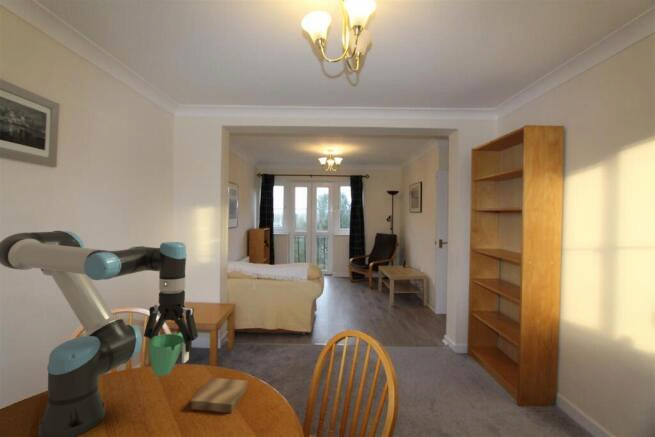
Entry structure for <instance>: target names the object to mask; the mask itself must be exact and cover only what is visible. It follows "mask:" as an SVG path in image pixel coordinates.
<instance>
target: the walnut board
mask: <svg viewBox="0 0 655 437" xmlns="http://www.w3.org/2000/svg"><path fill="white" fill-rule="evenodd" d="M248 383H249V381H248V380H241V379H232V378H220V377H210V378H209V379H208V380H207V381H206V382H205V383H204V385H203V386H202V387H201V388H200V389H199V390H198V391H197V392H196V393H195V394H194V395H193V397H192V398H191V399H189V400H190V401H189V402H190V405H191V410H199V411H207V412H217V413H218V412H219V413H227V414H232V413H233V411H234V410H235V408H236V407H237V405H238V404H239V402H240V401H241V399H242V398H243V396H244V394H245V393H246V392H247V389H248Z"/></svg>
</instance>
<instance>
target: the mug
mask: <svg viewBox="0 0 655 437" xmlns="http://www.w3.org/2000/svg"><path fill="white" fill-rule="evenodd" d="M184 341H185V340H184V338H183V336H182V334H181V332H180V331H179V332H178V333H176V334H174V333H166V334H165V333H163V334H158V336H155V337H153V338H151V339H149V340H148V345H147V346H148V354H149V355H148V356H149V360H150V364H151V367H152V368H151V369H152V371H153V374H154V375H155V376H167V375H169V374H171V372H172V371H173V368H174V367H175V365H176V363H177V360H178V358H179V357H180V355H181V354H182V343H183V342H184Z"/></svg>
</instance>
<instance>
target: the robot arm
mask: <svg viewBox="0 0 655 437" xmlns="http://www.w3.org/2000/svg"><path fill="white" fill-rule="evenodd" d="M81 238H82V237H80V236H79V235H78V234H76V233H75V232H72V231H68V230H63V231H62V230H54V231H39V232H37V231H36V232H33V231H32V232H19V233H14V234H11V235H8V236H6V237H5V238H4V239H2V240H1V241H0V265H1V266H3V267H6V268H8V269H14V270H21V271H26V270H28V271H29V270H32V269H40V271H41V272H42V273H43V275H45V276H48V277H49V276H50V277H52V278H53V281H54V282H55V283H56V285H57V287H58V288H59V290H60V291H61V294H62V295H63V296H64V298H65V300H66V301H67V303H68V305H69V307H70V308H71V309H72V311H73V313H74V315H75V316H76V318H77V319H78V321H79V324H81V326H82V327H83V329H84V331H85V333H86V335H85V336H80V337H78V338H72V339H70V340H66V341H65V342H63V343H60V344H59V345H58V346H56V347H54V348H53V349H52V351H51V352H50V354H49V357H48V364H47V370H46V371H47V403H46V404H47V405H46V407H45V409H44V412H43V414H42V418H41V419H40V421H39V424H38V437H77V436H79V435H81V434H84V433H85V432H88V431H90V430H91V429H93V428H94V427H95V426H97V425H98V424H100V423H101V421H102V420H103V419H104V417H105V415H106V405H105V403H104V401H103V398H102V394H101V393H100V390H99V384H100V383H99V381H100V377H101V376H103V375H105V374H107V373H108V372H111V371H112V370H114V369H116V368H119V367H120V366H121V365H124V364H127V363H128V362H129V361H130V360H132V359H133V358H135V357H136V356H137V355H138V354H139V352H140V351H141V349H142V343H143V336H144V337H145V338H149V340H150V339H151V338H153V337H155V336H158V335H160V334H159V333H160V331H161V330H162V328H163V327H164V326H165V323H166V321H171V322H172V321H173V322H174V324H176V325H177V327H178V330H179V332H181V334H182V336H183V338H184V340H185V341H184V342H183V343H182V351H181V363H182V364H186V362H188V361H189V359H190V351H191V350H192V348H193V347H192V343H193V341H194V340H196V339H198V330H197V327H196V326H197V325H196V321H195V317H194V312H195V308H193V307H190V308H187V307H186V306H185V300H186V298H185V297H186V291H185V289H186V265H187V246H186V244H185V243H184V242H182V241H181V242H179V241H167V242H166V241H165V242H161V243H160V245H159V246H160V247H151V246H150V247H149V246H143V245H140V246H132V247H130V248H127V249H121V250H119V249H118V250H106V249H99V248H98V249H97V248H88V247H87V248H86V247H85V244H84V242H83V240H82V239H81ZM146 271H151V272H159V276H158V277H159V278H158V279H159V280H158V290H159V293H158V304H159V305H157V304H155V305H153V306H150V307H149V309H148V311H149V313H148V314H149V316H148V320H147V323H146V326H145V329H144V333H143V336H142V332H141V331H140V328H138V327H137V326H136V325H133V324H131V323H130V324H129V323H128V324H126V322H124V319H123V318H121V317H115V315H114V314H113V312H112V311H111V309H110V308H109V306H108V304H107V303H106V301H105V300H104V298H103V296H102V294H101V293H100V291H99V290H98V288H97V287H96V285H95V283H94V282H93V281H103V280H110V279H113V278H117V277H122V276H126V275H131V274H135V273H140V272H146ZM92 280H93V281H92ZM158 313H159V314H160V316H159V318H158V319H157V317H158ZM156 321H157V322H156Z"/></svg>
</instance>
